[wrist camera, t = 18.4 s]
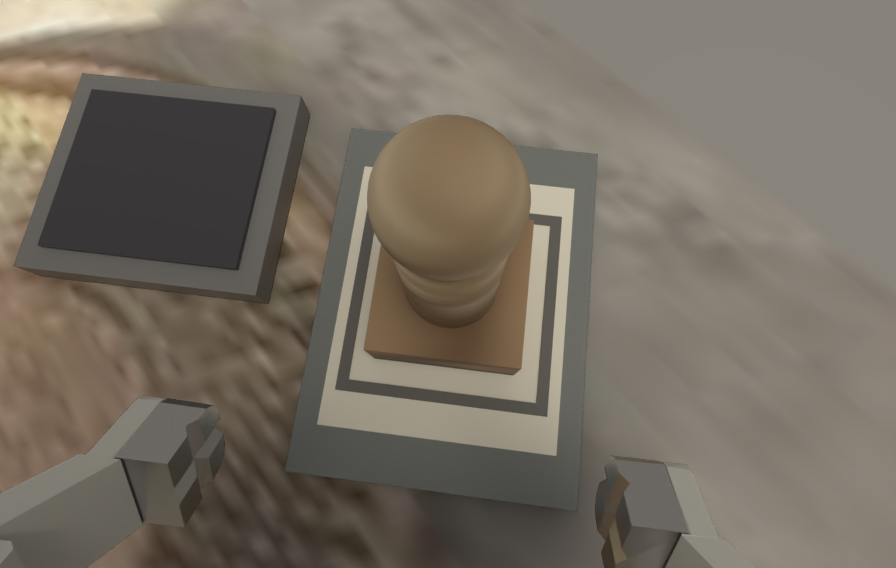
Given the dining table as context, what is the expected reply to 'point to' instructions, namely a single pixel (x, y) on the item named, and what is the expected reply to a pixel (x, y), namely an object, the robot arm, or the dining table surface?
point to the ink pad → (168, 188)
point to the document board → (449, 389)
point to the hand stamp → (450, 247)
